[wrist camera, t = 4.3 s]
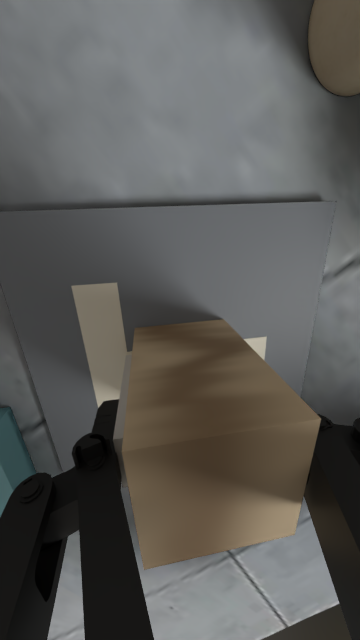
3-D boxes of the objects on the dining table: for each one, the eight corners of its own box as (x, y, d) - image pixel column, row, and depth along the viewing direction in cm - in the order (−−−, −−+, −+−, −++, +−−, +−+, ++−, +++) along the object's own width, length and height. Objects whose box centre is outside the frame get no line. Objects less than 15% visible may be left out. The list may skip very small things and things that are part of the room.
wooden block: (223, 319, 15) (321, 418, 7) (222, 391, 17) (294, 534, 9) (134, 327, 14) (121, 451, 6) (144, 402, 17) (143, 569, 8)
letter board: (326, 202, 14) (336, 200, 14) (287, 435, 21) (292, 442, 21) (-13, 213, 12) (-25, 212, 11) (69, 472, 19) (66, 483, 18)
